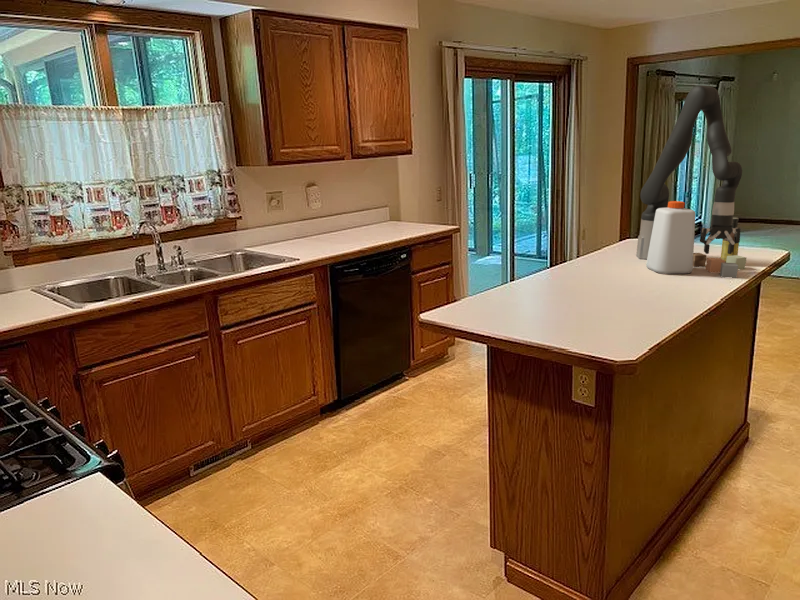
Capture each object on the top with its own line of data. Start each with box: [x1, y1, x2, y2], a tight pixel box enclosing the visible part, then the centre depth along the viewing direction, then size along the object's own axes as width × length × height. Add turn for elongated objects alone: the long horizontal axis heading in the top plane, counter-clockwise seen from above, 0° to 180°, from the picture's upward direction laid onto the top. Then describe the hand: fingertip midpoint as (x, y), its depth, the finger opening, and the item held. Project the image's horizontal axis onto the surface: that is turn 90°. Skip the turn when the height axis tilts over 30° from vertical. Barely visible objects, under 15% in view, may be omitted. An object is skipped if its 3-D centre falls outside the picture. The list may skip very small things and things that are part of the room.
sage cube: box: [726, 254, 747, 270], centre depth 244 cm, size 5×5×5 cm
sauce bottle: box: [720, 216, 740, 263], centre depth 249 cm, size 7×6×20 cm
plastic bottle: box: [645, 200, 696, 275], centre depth 238 cm, size 15×15×28 cm
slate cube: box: [719, 262, 739, 279], centre depth 231 cm, size 5×5×5 cm
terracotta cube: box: [705, 257, 725, 273], centre depth 239 cm, size 5×5×5 cm
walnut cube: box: [693, 252, 708, 268], centre depth 250 cm, size 5×5×5 cm
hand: (718, 253), depth 238 cm, fingers open, 8 cm apart
